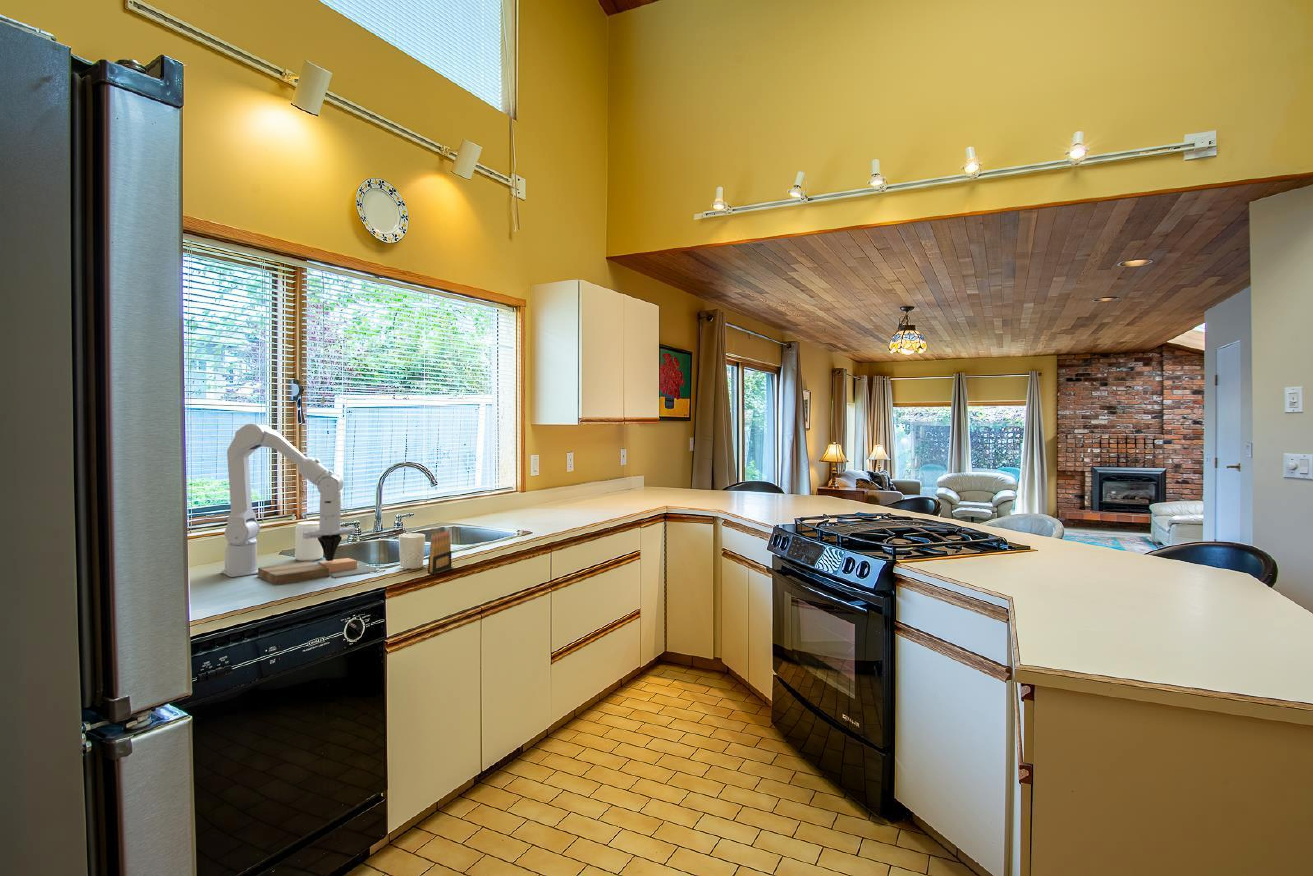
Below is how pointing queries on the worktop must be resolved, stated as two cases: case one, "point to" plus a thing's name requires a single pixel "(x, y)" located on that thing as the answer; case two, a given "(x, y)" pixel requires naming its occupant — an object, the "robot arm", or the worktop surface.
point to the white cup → (411, 550)
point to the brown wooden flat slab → (293, 572)
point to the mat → (354, 571)
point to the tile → (339, 564)
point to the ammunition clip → (440, 552)
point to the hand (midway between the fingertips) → (329, 560)
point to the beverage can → (307, 542)
